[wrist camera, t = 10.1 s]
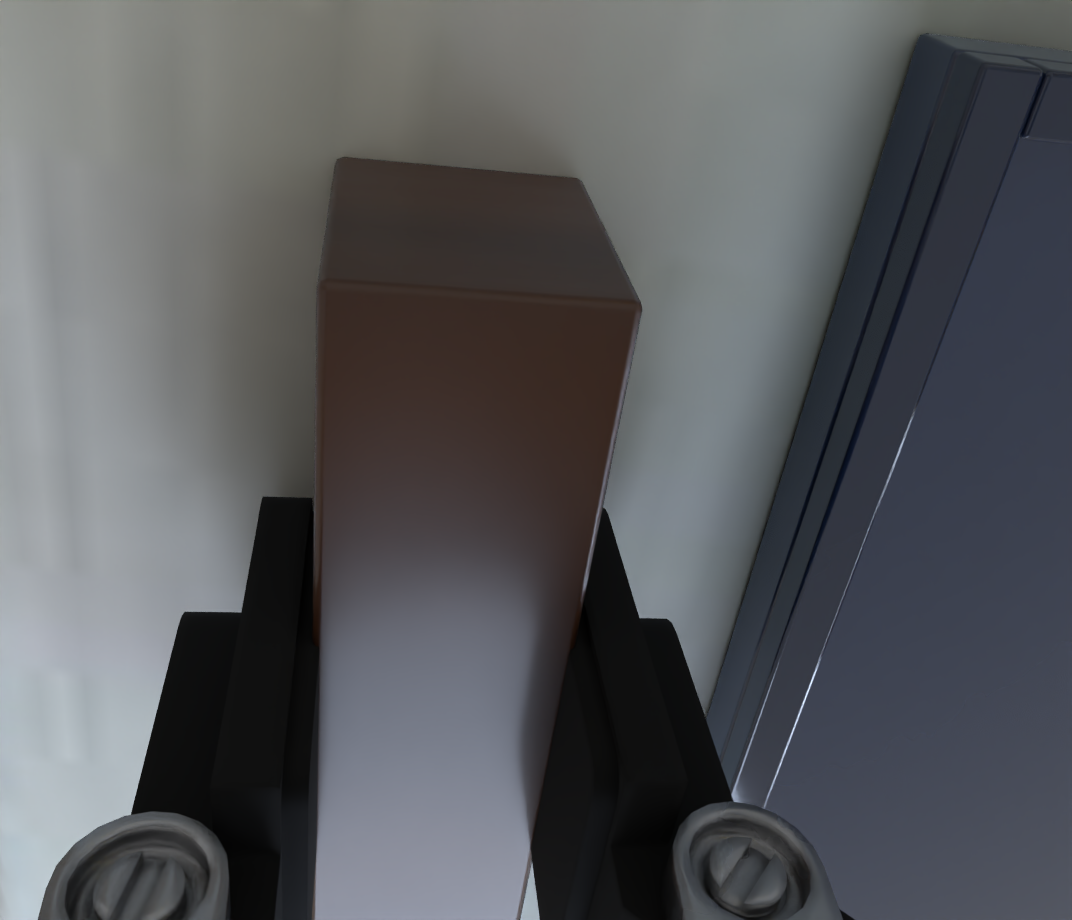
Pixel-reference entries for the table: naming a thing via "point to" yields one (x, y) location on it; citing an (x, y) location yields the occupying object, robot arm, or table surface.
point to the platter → (930, 523)
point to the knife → (453, 520)
